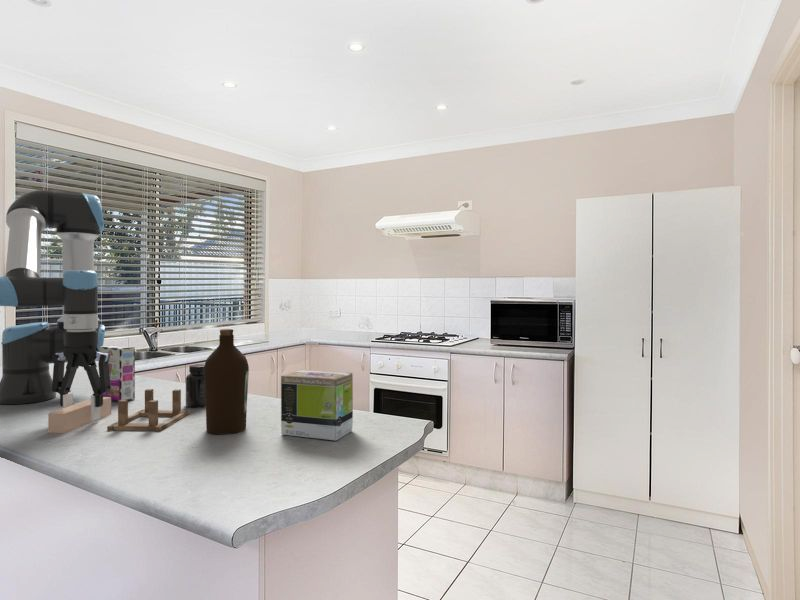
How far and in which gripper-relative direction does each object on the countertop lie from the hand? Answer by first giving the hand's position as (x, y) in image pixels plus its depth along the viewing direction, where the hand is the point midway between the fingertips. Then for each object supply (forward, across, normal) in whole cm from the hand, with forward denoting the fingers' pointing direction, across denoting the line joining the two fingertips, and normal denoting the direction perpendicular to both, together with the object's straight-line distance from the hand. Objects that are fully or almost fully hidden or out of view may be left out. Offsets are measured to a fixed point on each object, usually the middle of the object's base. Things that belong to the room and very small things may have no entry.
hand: (81, 419), depth 131 cm
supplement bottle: (+1, +22, +20) cm, 30 cm away
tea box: (+1, +62, -6) cm, 62 cm away
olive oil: (+1, +39, -4) cm, 39 cm away
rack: (+1, +17, +2) cm, 17 cm away
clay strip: (+1, 0, 0) cm, 1 cm away
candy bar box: (+1, -6, +27) cm, 28 cm away
